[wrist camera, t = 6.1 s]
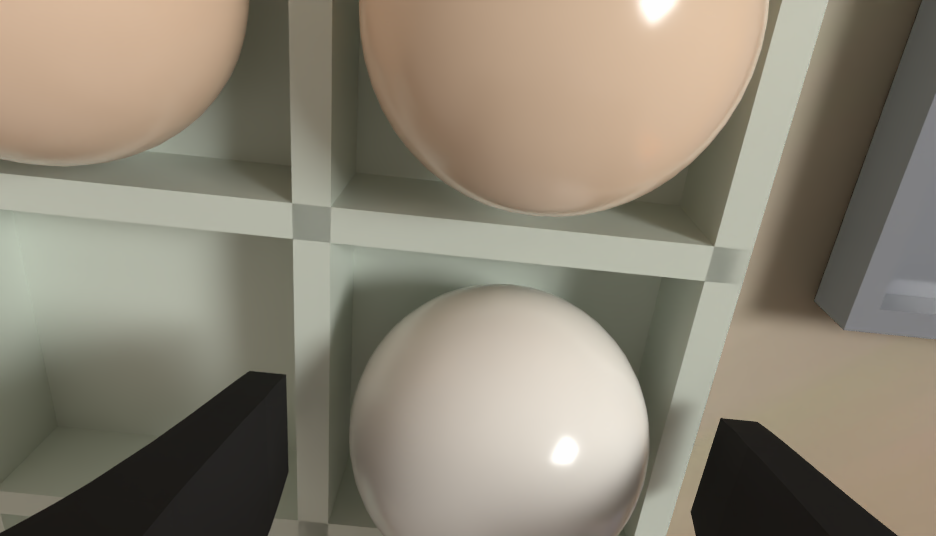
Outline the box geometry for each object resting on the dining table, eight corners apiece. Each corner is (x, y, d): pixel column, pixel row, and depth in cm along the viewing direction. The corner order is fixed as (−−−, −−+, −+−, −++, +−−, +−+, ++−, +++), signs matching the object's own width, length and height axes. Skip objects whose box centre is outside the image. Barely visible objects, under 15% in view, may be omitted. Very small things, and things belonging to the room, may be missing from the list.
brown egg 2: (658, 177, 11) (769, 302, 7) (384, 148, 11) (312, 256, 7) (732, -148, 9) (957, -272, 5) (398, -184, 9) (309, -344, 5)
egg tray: (581, 664, 18) (595, 768, 16) (92, 617, 18) (31, 714, 15) (809, -217, 10) (915, -286, 7) (-107, -317, 9) (-307, -419, 7)
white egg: (594, 459, 14) (643, 685, 10) (371, 436, 14) (314, 652, 10) (641, 254, 12) (732, 416, 8) (381, 227, 12) (315, 373, 8)
